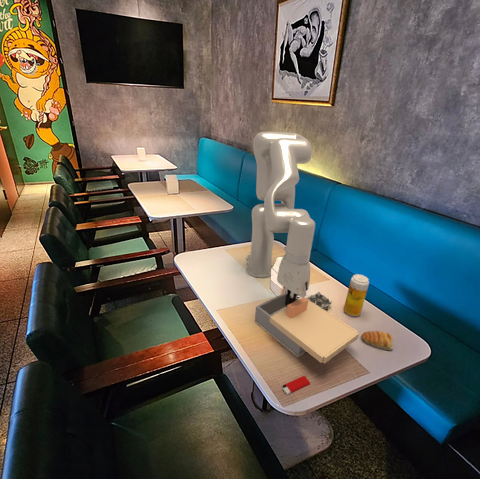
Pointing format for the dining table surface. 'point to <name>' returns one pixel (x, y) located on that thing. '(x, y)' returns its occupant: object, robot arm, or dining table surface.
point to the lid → (314, 329)
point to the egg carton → (320, 300)
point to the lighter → (295, 385)
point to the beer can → (356, 295)
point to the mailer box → (263, 318)
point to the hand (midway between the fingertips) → (289, 304)
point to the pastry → (378, 339)
